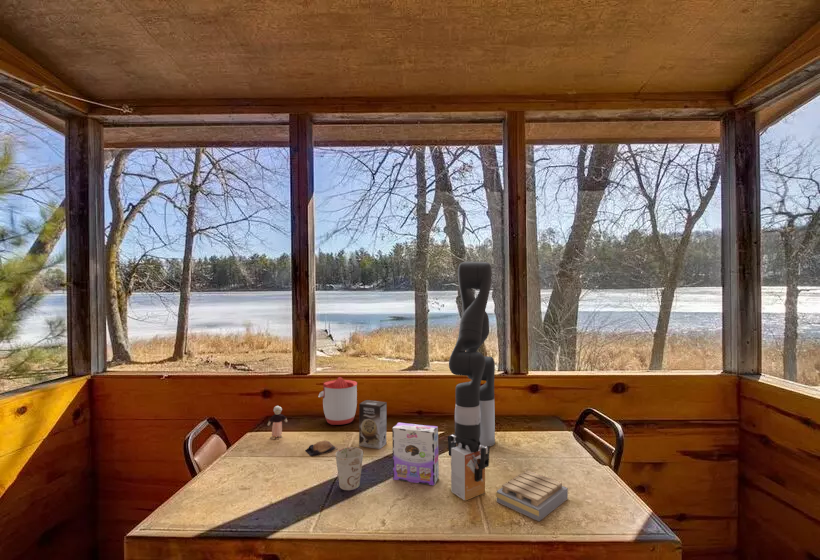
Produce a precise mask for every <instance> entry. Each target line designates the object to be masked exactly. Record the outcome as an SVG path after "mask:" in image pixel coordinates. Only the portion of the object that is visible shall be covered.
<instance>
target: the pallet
mask: <svg viewBox="0 0 820 560" xmlns="http://www.w3.org/2000/svg"><path fill="white" fill-rule="evenodd" d="M562 486H563V482H561V481H558V480H555V479H554V478H550V477H548V476H545V475H543V474H540V473H536V472H534V471H532V470H529V469H527V470H525V471H523V472H521V473H520V474H518V475H516V476H515V477H513V478H511V479H510V480H508V481H507V482H505V483H503V484H501V488H502V487H503V488H502V492H505V493H509V492H510V491H512V492H515V493H517V494H516V498H518V499H521V500H522V499H523V498H525V497H526V498H529V499H531V504H532V505H535V506H538V505H539V504H541V503H542V502H543V501H545V500H546V499H547V498H549V497H550V496H551V495H553V494H554V493H555V492H557V491H558V490H560V489H561V488H562Z"/></svg>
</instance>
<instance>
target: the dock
mask: <svg viewBox="0 0 820 560" xmlns="http://www.w3.org/2000/svg"><path fill="white" fill-rule="evenodd" d="M502 488H503V487H502V486H501V488H499V489H498V490H496V491H495V497H496V502H497V503H499V504H501V505H503V506H505V507H506V508H510V509H512V510H514V511H515V512H517V513H520V514H522V515H525V516H526V517H528V518H530V519H533V520H534V521H537V522H541V521H542V520H544V519H545V517H547V516H548V515H549V514H551V513H552V512H553V511H554V510H556V509H557V508H558V507H559V506H561V505H563V503H564V502H566V501H567V500H568V498H569V497H568V496H569V495H568V487H566V486H564V485H562V488H561V489H560V490H558V491H557V492H555V493H554V494H553V495H551V496H550V497H549V498H547V499H546V500H545V501H543V502H542V503H541V504H539V505H538V506H535V505H532V504H531V499H529V498H526V497H525V498H523V499H522V500H521V499H518V498H516V494H517V493H515V492H512V491H510V492H509V493H505V492H502Z"/></svg>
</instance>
